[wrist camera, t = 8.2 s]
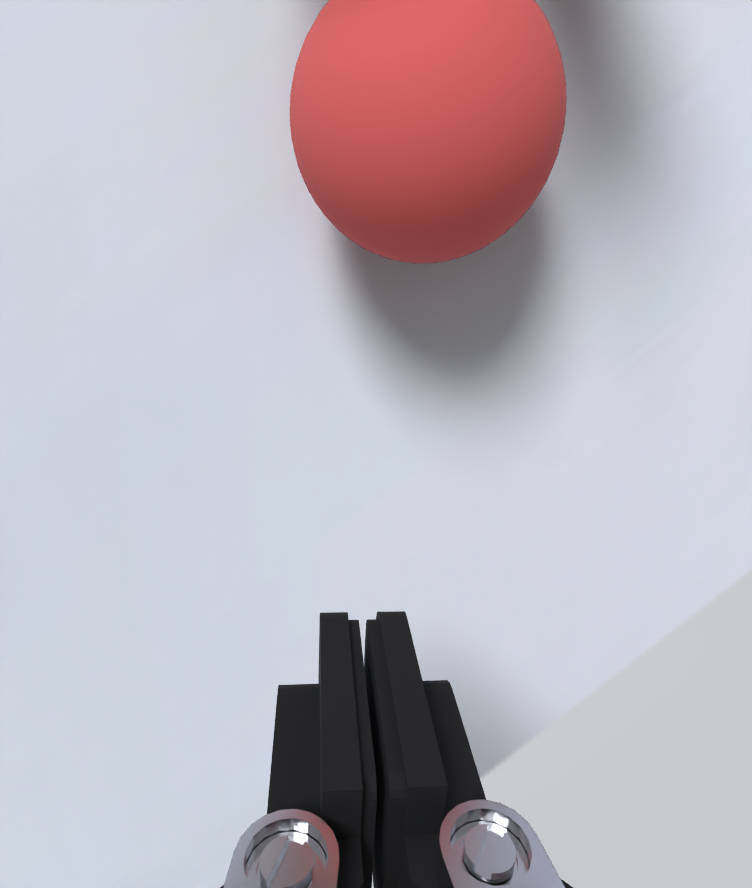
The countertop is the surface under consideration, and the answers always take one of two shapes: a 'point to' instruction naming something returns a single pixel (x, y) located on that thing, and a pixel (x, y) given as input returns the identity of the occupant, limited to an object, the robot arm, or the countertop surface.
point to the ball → (427, 120)
